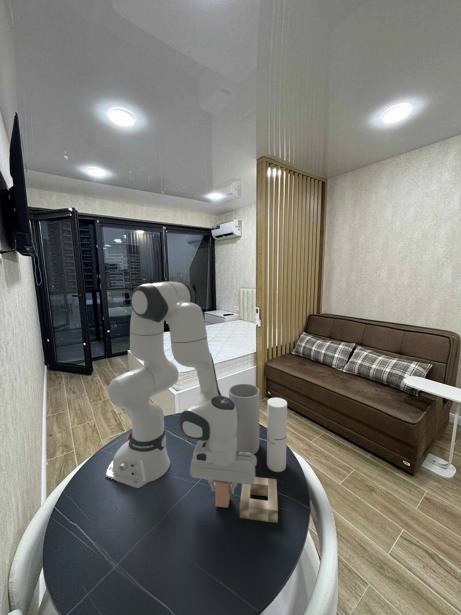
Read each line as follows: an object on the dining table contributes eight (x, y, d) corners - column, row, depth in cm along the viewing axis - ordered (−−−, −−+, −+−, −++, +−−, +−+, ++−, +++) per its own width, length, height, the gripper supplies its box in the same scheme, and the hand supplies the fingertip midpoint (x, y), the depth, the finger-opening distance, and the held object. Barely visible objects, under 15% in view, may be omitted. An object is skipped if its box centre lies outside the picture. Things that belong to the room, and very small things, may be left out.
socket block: (239, 517, 71) (239, 505, 71) (243, 486, 82) (243, 475, 82) (277, 523, 70) (277, 510, 69) (276, 490, 80) (276, 479, 80)
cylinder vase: (265, 448, 101) (265, 391, 98) (243, 462, 93) (243, 401, 90) (244, 433, 110) (244, 381, 107) (223, 445, 102) (222, 389, 99)
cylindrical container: (286, 473, 87) (287, 408, 85) (266, 470, 89) (267, 406, 86) (285, 459, 94) (286, 398, 91) (267, 456, 96) (267, 396, 93)
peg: (215, 506, 74) (215, 482, 73) (217, 494, 78) (217, 472, 77) (228, 507, 74) (228, 484, 73) (230, 496, 78) (230, 473, 77)
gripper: (257, 446, 75) (256, 486, 77) (193, 440, 78) (194, 478, 80) (256, 461, 69) (255, 504, 71) (187, 454, 72) (188, 495, 74)
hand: (222, 490), depth 75 cm, fingers closed on peg, 4 cm apart
